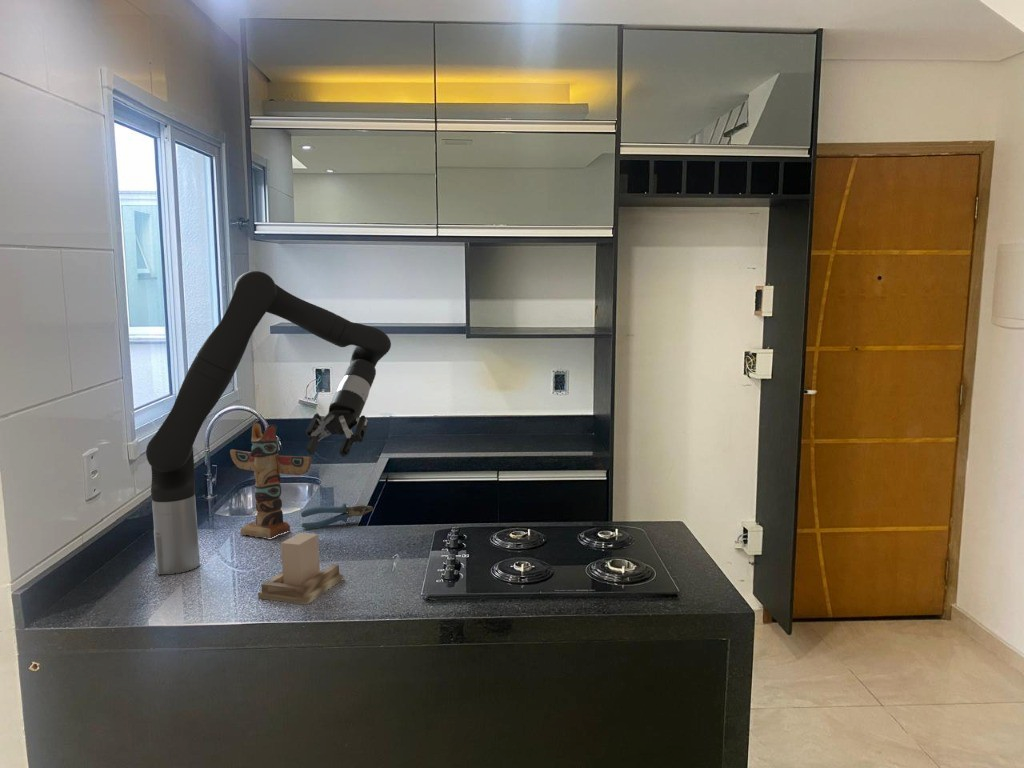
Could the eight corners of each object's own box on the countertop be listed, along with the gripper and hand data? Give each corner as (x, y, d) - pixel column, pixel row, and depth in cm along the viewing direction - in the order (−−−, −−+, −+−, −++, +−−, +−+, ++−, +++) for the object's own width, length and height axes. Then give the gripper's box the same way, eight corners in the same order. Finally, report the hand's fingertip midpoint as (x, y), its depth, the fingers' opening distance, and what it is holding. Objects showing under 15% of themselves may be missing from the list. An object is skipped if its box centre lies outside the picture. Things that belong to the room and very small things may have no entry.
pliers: (372, 518, 203) (371, 498, 203) (374, 520, 202) (373, 500, 201) (301, 528, 195) (300, 508, 194) (302, 531, 193) (301, 510, 193)
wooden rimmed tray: (307, 604, 145) (306, 589, 144) (258, 598, 148) (257, 583, 148) (343, 579, 158) (342, 565, 158) (297, 573, 162) (296, 560, 161)
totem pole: (216, 531, 194) (209, 424, 191) (237, 523, 201) (230, 420, 198) (296, 544, 182) (290, 430, 179) (316, 535, 189) (310, 425, 185)
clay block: (301, 590, 149) (299, 544, 148) (283, 588, 150) (280, 542, 149) (320, 577, 156) (317, 534, 155) (302, 575, 157) (300, 532, 156)
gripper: (318, 387, 170) (292, 443, 161) (370, 389, 166) (346, 446, 156) (331, 406, 176) (306, 461, 166) (382, 408, 171) (359, 464, 162)
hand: (326, 453), depth 161 cm, fingers open, 8 cm apart
